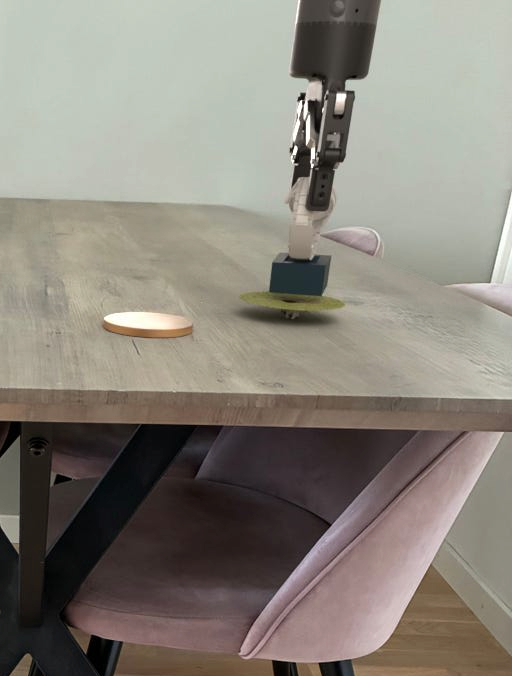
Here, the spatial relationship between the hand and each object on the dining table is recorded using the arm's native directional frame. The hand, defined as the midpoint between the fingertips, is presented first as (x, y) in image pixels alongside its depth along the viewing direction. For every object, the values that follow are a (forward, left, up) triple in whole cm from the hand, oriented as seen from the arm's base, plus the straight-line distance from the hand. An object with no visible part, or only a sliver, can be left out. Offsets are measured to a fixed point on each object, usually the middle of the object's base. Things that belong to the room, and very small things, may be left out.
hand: (307, 207), depth 98 cm
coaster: (+16, +9, -11) cm, 21 cm away
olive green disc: (0, 0, -11) cm, 11 cm away
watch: (-1, -1, -8) cm, 8 cm away
